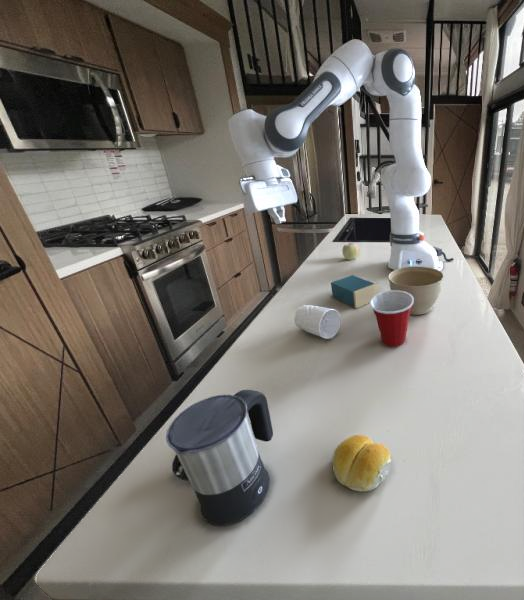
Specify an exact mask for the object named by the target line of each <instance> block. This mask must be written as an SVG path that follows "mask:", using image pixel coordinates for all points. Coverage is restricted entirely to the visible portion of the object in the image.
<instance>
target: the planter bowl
mask: <svg viewBox="0 0 524 600" xmlns="http://www.w3.org/2000/svg"><path fill="white" fill-rule="evenodd" d="M387 280H388V282H389V289H390V291H392V290H399V291H405V292H407V293H409V294H411V295H412V296H413V298H414V303H413V305H412V307H411V311H410V315H413V316H417V315H424V314H427V313H429V312H431V310H432V309H433V306H434V305H435V303H436V302H437V301H438V299H439V297H440V295H441V292H442V288H443V282H444V273H443V272H442V270H440V271H439V270H437V269H434V268H430V267H423V266H411V267H404V268H400V269H397V270H392V271H391V272H390V273H389V274H388V279H387Z"/></svg>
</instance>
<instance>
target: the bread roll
mask: <svg viewBox="0 0 524 600" xmlns="http://www.w3.org/2000/svg"><path fill="white" fill-rule="evenodd" d="M391 457H392V455H391V452H390V451H389V449H388V448H387V447H386V446H385V445H384V444H383V443H378V442H373V441H372V439H371V438H370V437H369V436H367V435H363V434H355V435H351V436H349V437H347V438H345V439H344V440H343V441H342V442H340V443H339V445H338V446H336V449H335V451H334V452H333V457H332V470H333V473H334V477H335V478H336V480H337V481H338V483H340V484H341V485H343V486H345V487H347V488H348V489H350V490H351V491H355V492H370V491H372V490H374V489H376V488H378V487H379V485H380V484H381V483H382V482H383V481H384V480H385V478H386V477H387V475H388V474H389V472H390V470H391V468H392V459H391Z"/></svg>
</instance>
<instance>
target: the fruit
mask: <svg viewBox="0 0 524 600" xmlns="http://www.w3.org/2000/svg"><path fill="white" fill-rule="evenodd" d="M341 251H342V256H343V257H344V258H345V259H346V260H355V259H357V258H359V255H360V247H359V245H358V244H356V243H354V242H349V243H346V244H344V245H343V247H342V250H341Z"/></svg>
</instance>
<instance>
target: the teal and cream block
mask: <svg viewBox="0 0 524 600" xmlns="http://www.w3.org/2000/svg"><path fill="white" fill-rule="evenodd" d="M330 287H331V288H330V289H331V295H332V297H333V298H335V299H338V300H339V301H342V302H344V303H346V304H348V305H350V306H352V307H354V308H355V309H358V308H360V307H363V306H365V305H367V304H369V303H370V299H371V298H372V297H374V296H375V295H377V294H379V283H377V282H372V281H370V280H367V279H364V278H361V277H358V276H357V275H354V274H351V275H348V276H346V277H343V278H340V279H337V280H334V281H331V282H330Z"/></svg>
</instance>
